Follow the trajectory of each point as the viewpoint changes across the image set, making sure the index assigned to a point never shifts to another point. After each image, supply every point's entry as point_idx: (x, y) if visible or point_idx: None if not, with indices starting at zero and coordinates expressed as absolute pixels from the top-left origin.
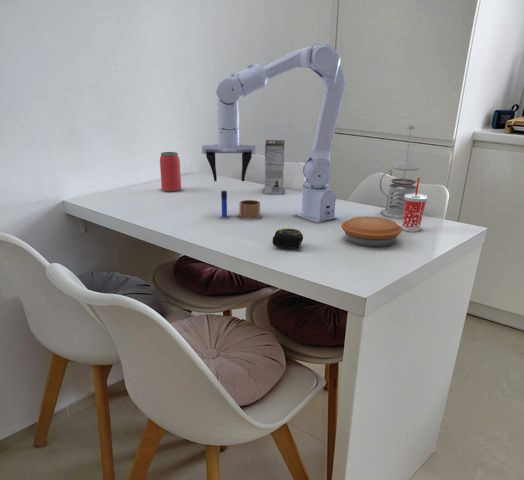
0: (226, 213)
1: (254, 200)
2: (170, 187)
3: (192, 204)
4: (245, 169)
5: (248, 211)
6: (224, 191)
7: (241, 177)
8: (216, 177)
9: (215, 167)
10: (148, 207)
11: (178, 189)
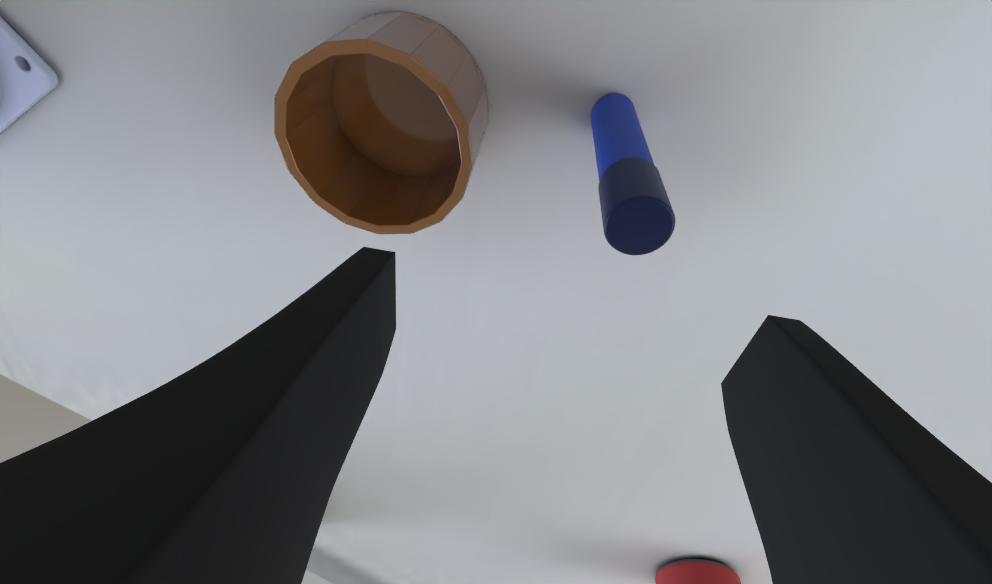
0: (602, 112)
1: (331, 212)
2: (717, 578)
3: (698, 419)
4: (244, 353)
5: (407, 34)
6: (641, 209)
7: (387, 355)
8: (800, 348)
9: (933, 501)
10: (975, 420)
11: (676, 566)
